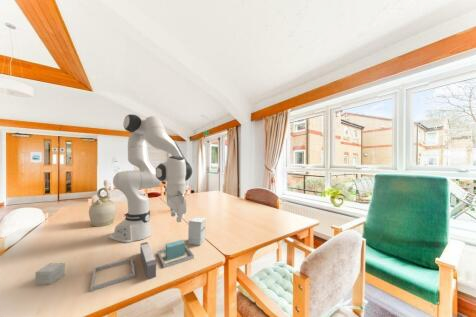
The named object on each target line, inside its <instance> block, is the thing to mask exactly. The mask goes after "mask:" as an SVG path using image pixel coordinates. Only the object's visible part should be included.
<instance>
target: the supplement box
mask: <svg viewBox="0 0 476 317" xmlns="http://www.w3.org/2000/svg"><path fill="white" fill-rule="evenodd" d="M206 219H207V218H206V217H196V216H194V217H192V218H191V219H189V221H188V234H187V236H188V238H187V239H188V240H187V242H188V243H187V244H188V245H195V246H201V245H202V243H204V241H205V240H206Z"/></svg>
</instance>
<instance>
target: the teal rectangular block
mask: <svg viewBox="0 0 476 317" xmlns="http://www.w3.org/2000/svg"><path fill="white" fill-rule="evenodd" d="M185 245H186V242H185V241H184V240H183V239H181V240H177V241H173V242H172V241H171V242H167V243H166V244H165V248H164V249H165V252H164V253H165V259H166V260H167V261H168V262H169V261H171V260H174V259H177V258H181V257H184V256H185V255H186V254H185V253H186V250H185Z"/></svg>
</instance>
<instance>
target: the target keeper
mask: <svg viewBox="0 0 476 317" xmlns="http://www.w3.org/2000/svg"><path fill="white" fill-rule="evenodd" d="M126 263H130V268H131V273H130V274H127V275H124V276H121V277H120V276H119V277H118V278H114V279H111V280H108V281H104V282H100V283H98V284H95V283H96V282H95V281H96V274H97V272H98V271H102V270H105V269H109V268H113V267H116V266H120V265H124V264H126ZM135 271H136V270H135V265H134V260H133V257H129V258H125V259H123V260H119V261H115V262H111V263H107V264H104V265H99V266H95V267H93V270H92V276H91V282H90V288H89V290H90V292H93V291H96V290H100V289H102V288H103V289H104V288H106V287H109V286H111V285H114V284H118V283H120V282H121V283H122V282H124V281H127V280H130V279H133V278H136V272H135Z"/></svg>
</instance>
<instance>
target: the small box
mask: <svg viewBox="0 0 476 317" xmlns="http://www.w3.org/2000/svg"><path fill="white" fill-rule="evenodd" d="M65 265H66V264H65V262H52V263H51V262H50V263H49V264H47V265H45V266H44V267H41V268H40V269H39V270H36V271H35V280H34V281H35V285H37V286H40V285H41V286H42V285H43V286H44V285H46V286H47V285H52V284H54V283H55V282H56V281H57V280H60V278H62V277H64V276H65V274H66V273H65V268H66V267H65Z"/></svg>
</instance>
